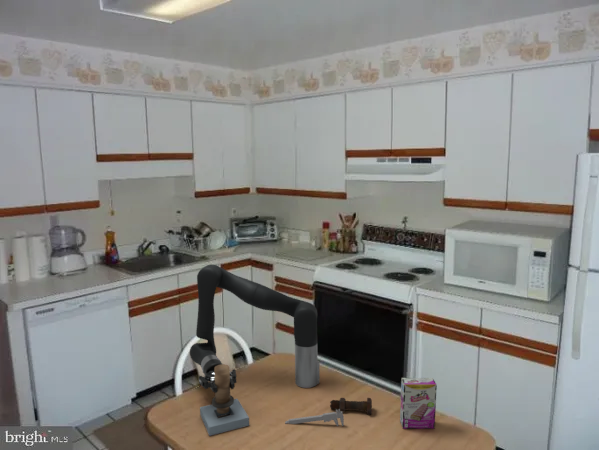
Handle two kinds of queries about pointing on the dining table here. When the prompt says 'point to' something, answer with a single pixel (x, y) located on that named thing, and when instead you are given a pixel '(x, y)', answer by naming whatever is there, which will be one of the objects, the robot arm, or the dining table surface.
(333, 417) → the caliper
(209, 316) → the robot arm
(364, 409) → the bolt
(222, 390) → the peg
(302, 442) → the dining table surface
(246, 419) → the board
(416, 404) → the candy bar box
